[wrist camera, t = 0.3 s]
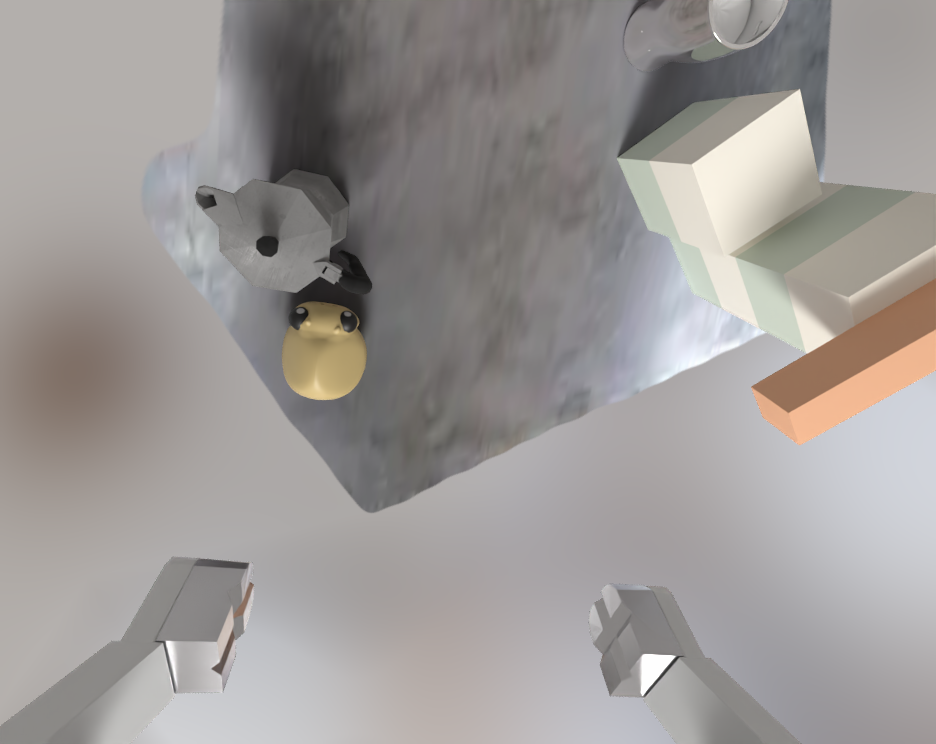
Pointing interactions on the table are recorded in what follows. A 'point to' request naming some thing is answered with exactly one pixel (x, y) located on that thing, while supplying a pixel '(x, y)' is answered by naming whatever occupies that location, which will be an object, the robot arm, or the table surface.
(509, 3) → the table surface
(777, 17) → the beer glass
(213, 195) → the coffeepot
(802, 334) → the tall tower
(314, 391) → the yellow toy figurine
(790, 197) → the short tower
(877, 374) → the long brick
